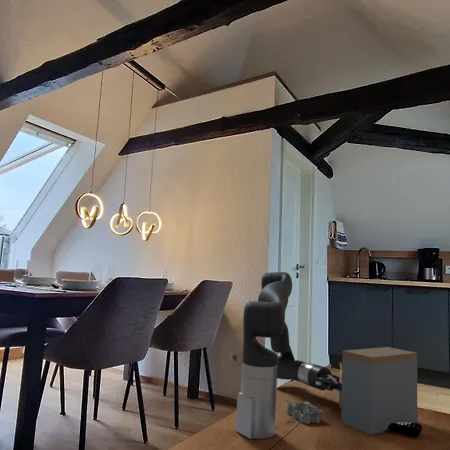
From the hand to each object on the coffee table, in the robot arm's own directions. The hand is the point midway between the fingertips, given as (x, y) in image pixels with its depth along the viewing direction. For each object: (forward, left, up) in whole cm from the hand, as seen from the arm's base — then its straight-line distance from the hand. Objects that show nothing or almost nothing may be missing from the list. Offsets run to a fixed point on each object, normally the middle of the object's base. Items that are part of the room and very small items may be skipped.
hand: (355, 388), depth 125 cm
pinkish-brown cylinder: (0, +3, -6) cm, 7 cm away
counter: (0, -9, -7) cm, 11 cm away
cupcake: (+12, +13, -8) cm, 19 cm away
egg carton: (-18, +5, -8) cm, 20 cm away
